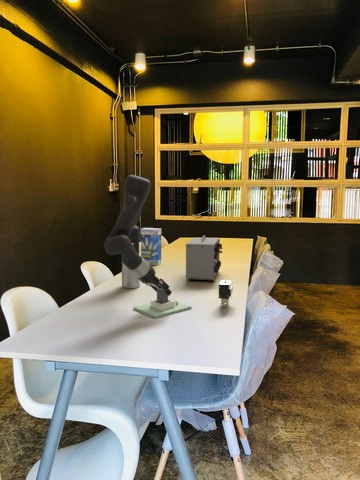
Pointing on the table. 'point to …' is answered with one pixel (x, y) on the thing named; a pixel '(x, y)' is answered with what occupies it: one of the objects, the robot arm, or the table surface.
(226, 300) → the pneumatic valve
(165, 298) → the grey rectangular block
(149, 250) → the string lights box
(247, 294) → the table surface
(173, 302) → the board
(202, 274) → the vintage electronic device
